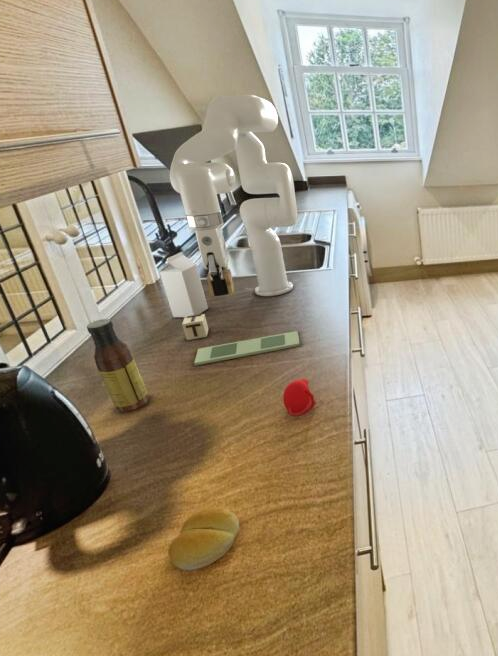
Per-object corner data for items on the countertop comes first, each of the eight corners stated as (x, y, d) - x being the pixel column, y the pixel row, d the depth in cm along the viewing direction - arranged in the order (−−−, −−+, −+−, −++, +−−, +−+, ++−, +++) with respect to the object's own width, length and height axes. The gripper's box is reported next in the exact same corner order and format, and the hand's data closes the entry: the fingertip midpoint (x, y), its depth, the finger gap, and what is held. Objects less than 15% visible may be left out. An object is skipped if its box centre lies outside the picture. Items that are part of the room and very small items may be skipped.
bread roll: (160, 574, 61) (151, 553, 59) (196, 518, 69) (189, 499, 67) (220, 574, 60) (212, 553, 59) (249, 518, 69) (243, 498, 67)
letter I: (213, 290, 117) (208, 271, 115) (234, 287, 118) (229, 268, 116) (211, 297, 112) (206, 277, 110) (233, 293, 114) (228, 274, 112)
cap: (316, 417, 91) (312, 392, 89) (285, 423, 90) (280, 398, 87) (315, 395, 98) (311, 371, 96) (287, 400, 97) (281, 376, 94)
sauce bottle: (140, 393, 101) (111, 312, 93) (155, 401, 98) (127, 318, 90) (108, 409, 96) (74, 325, 88) (123, 417, 93) (90, 331, 85)
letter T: (189, 332, 129) (184, 316, 127) (208, 329, 131) (204, 313, 128) (186, 340, 125) (181, 323, 123) (206, 337, 126) (202, 320, 124)
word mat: (198, 351, 119) (198, 348, 118) (297, 333, 126) (297, 330, 126) (194, 365, 112) (193, 362, 111) (299, 346, 119) (299, 343, 119)
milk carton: (208, 308, 145) (193, 251, 137) (194, 318, 138) (178, 258, 131) (187, 308, 146) (171, 251, 138) (173, 317, 139) (155, 258, 132)
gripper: (219, 226, 102) (236, 300, 109) (225, 212, 117) (240, 278, 124) (182, 229, 100) (202, 305, 107) (192, 215, 114) (210, 282, 122)
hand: (222, 290), depth 115 cm, fingers closed on letter I, 5 cm apart
